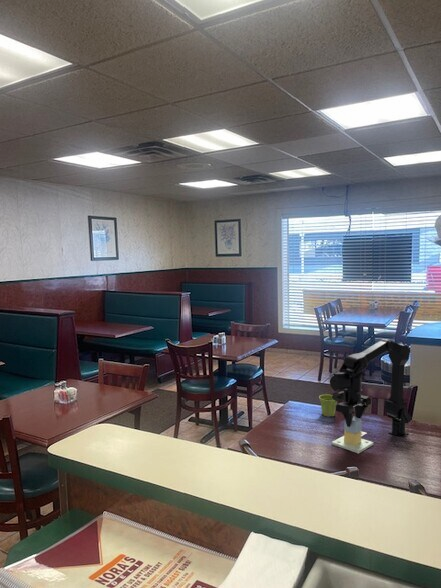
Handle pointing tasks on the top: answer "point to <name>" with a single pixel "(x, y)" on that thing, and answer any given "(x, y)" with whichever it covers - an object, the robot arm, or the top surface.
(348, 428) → the slate brick
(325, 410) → the plant pot
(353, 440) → the yellow cube
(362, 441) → the base board
